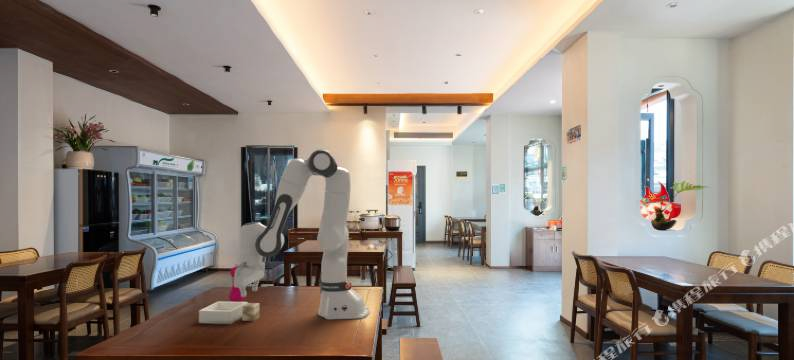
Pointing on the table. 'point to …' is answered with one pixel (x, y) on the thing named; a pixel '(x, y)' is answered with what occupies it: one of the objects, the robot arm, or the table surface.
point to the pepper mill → (235, 288)
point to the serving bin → (221, 312)
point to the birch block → (250, 312)
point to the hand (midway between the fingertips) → (249, 293)
